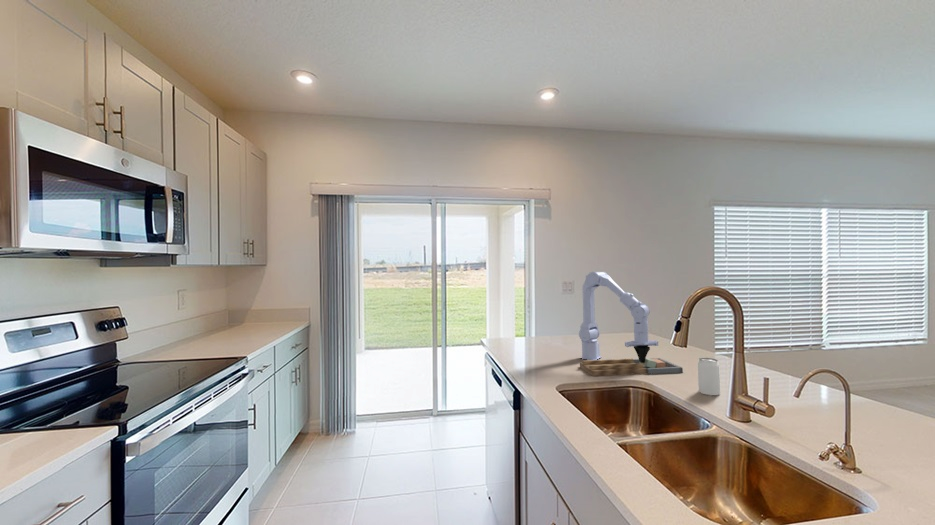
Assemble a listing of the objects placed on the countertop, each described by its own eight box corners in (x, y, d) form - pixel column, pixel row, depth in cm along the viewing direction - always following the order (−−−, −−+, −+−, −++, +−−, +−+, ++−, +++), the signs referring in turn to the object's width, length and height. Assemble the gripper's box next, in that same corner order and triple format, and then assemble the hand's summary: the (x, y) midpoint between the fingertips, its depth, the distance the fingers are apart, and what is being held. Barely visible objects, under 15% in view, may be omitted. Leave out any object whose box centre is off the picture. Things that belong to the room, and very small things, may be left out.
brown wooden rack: (592, 376, 154) (592, 367, 154) (579, 367, 168) (579, 359, 168) (646, 373, 156) (646, 365, 156) (629, 364, 170) (629, 357, 170)
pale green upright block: (646, 366, 160) (648, 359, 160) (639, 363, 166) (640, 356, 166) (655, 368, 160) (656, 361, 160) (647, 365, 166) (648, 358, 166)
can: (723, 396, 127) (722, 362, 127) (703, 395, 128) (702, 361, 128) (715, 390, 133) (714, 357, 133) (695, 389, 135) (694, 357, 135)
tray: (648, 374, 154) (648, 369, 154) (628, 364, 171) (628, 359, 171) (682, 372, 156) (682, 367, 156) (659, 362, 172) (659, 358, 172)
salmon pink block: (656, 369, 160) (656, 362, 160) (648, 365, 166) (648, 359, 166) (665, 369, 160) (665, 362, 160) (657, 365, 166) (657, 358, 166)
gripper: (630, 334, 158) (631, 365, 158) (662, 332, 159) (662, 363, 159) (622, 331, 165) (622, 361, 165) (652, 330, 166) (653, 359, 166)
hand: (642, 362), depth 163 cm, fingers closed
